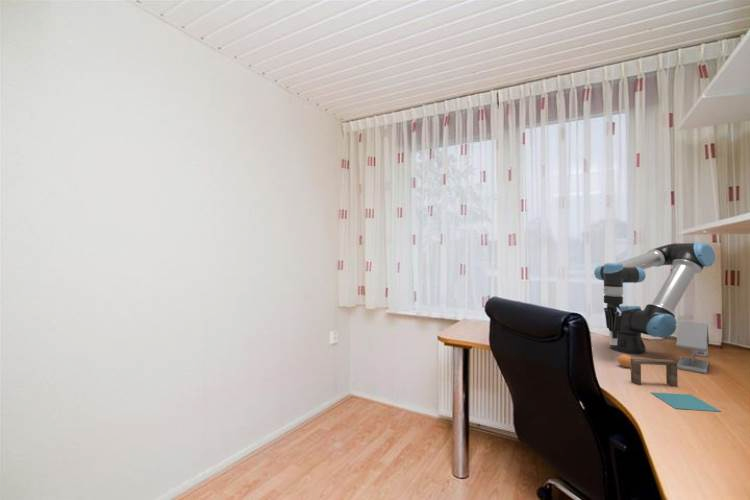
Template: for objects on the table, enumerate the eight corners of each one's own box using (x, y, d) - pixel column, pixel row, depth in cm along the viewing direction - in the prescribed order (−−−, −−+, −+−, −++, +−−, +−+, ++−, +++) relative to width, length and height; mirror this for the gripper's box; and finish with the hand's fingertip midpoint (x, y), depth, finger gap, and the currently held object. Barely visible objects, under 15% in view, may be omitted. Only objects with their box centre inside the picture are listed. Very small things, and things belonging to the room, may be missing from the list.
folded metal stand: (706, 374, 142) (705, 327, 142) (676, 369, 149) (675, 323, 149) (709, 364, 155) (708, 320, 155) (681, 360, 162) (680, 318, 162)
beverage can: (700, 353, 172) (699, 323, 172) (711, 356, 166) (710, 326, 166) (689, 353, 172) (688, 323, 172) (699, 356, 166) (699, 326, 166)
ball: (615, 364, 155) (615, 352, 155) (628, 365, 154) (628, 353, 154) (622, 368, 150) (621, 356, 150) (635, 369, 149) (635, 356, 149)
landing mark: (650, 392, 124) (650, 392, 124) (691, 395, 122) (690, 394, 122) (675, 408, 111) (675, 408, 111) (721, 411, 109) (721, 411, 109)
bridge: (631, 381, 135) (630, 358, 135) (672, 383, 133) (671, 360, 133) (635, 384, 132) (635, 360, 132) (677, 386, 130) (677, 362, 130)
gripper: (598, 293, 169) (598, 340, 169) (611, 296, 156) (611, 347, 156) (614, 293, 168) (614, 341, 167) (629, 297, 155) (629, 348, 154)
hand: (613, 344), depth 162 cm, fingers closed
